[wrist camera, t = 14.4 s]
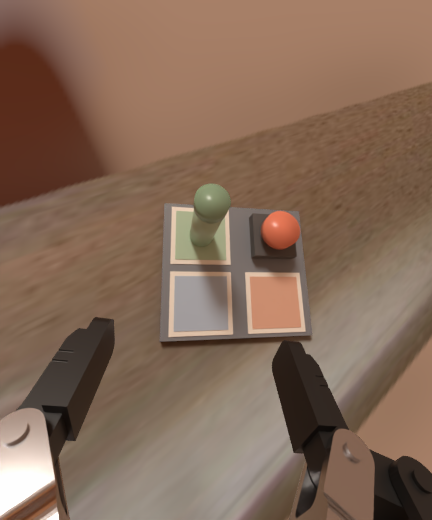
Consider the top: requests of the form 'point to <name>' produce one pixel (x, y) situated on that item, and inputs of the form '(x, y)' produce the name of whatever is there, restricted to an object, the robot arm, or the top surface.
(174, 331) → the colouring board
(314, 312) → the top surface
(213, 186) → the green rounded rod
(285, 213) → the button
